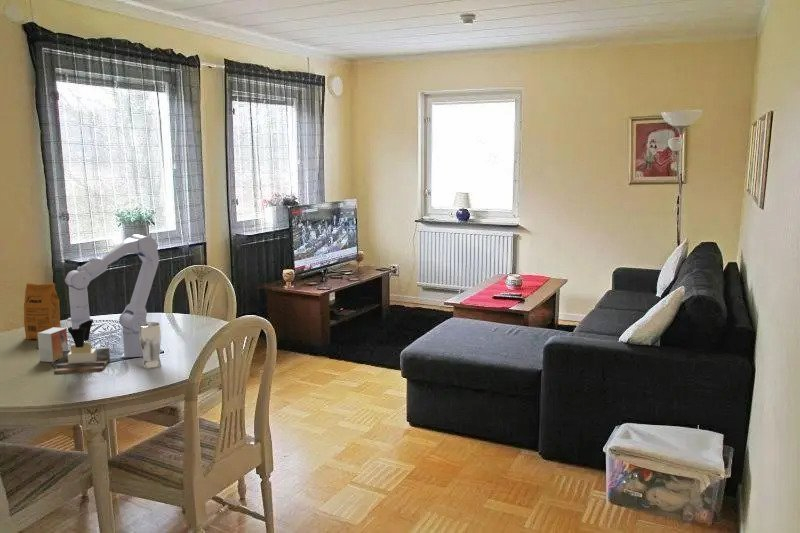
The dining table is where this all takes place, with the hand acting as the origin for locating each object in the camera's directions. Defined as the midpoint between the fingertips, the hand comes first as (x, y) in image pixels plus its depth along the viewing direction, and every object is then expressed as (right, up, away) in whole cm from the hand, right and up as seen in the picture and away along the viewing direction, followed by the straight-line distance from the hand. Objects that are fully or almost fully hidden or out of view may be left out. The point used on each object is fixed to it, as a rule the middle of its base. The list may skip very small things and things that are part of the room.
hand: (82, 343), depth 220 cm
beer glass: (+23, -8, +2) cm, 25 cm away
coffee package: (-33, -2, +34) cm, 47 cm away
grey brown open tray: (0, -8, 0) cm, 8 cm away
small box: (-14, -7, +8) cm, 18 cm away
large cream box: (0, -7, +1) cm, 7 cm away
